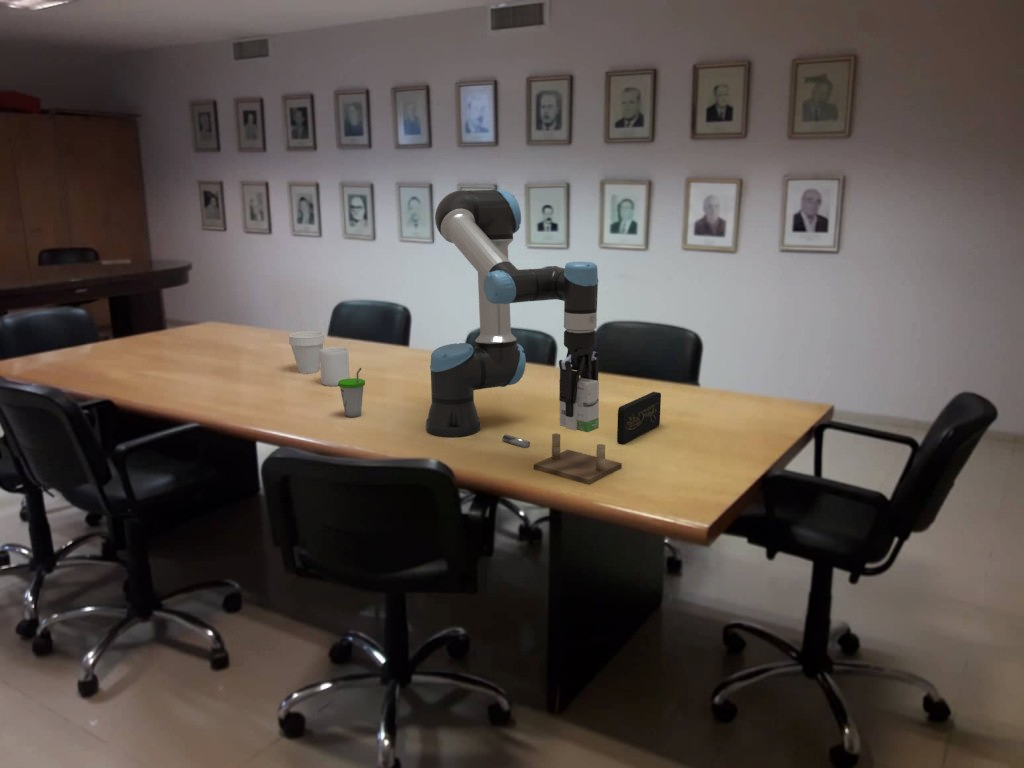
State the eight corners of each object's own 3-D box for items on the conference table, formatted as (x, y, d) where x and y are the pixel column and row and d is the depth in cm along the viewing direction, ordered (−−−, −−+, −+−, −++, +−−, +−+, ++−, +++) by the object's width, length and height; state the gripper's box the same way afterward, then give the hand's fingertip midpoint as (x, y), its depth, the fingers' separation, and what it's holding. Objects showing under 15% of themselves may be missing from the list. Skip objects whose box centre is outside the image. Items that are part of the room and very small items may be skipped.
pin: (506, 442, 216) (501, 440, 215) (508, 435, 217) (504, 433, 215) (528, 449, 211) (523, 447, 209) (531, 442, 211) (526, 439, 210)
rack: (533, 468, 195) (533, 440, 193) (567, 454, 205) (567, 426, 204) (588, 484, 185) (589, 454, 183) (621, 467, 196) (622, 439, 194)
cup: (337, 413, 241) (335, 364, 237) (364, 410, 244) (361, 362, 240) (342, 420, 234) (339, 369, 230) (369, 417, 237) (366, 367, 233)
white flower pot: (288, 369, 296) (285, 332, 292) (322, 366, 301) (320, 330, 297) (294, 376, 285) (292, 338, 282) (329, 373, 290) (327, 335, 287)
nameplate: (653, 425, 230) (655, 390, 227) (659, 426, 229) (661, 391, 226) (616, 444, 213) (618, 407, 211) (623, 445, 212) (624, 408, 210)
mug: (337, 388, 270) (335, 353, 267) (309, 383, 276) (307, 350, 273) (355, 381, 278) (353, 348, 275) (328, 378, 284) (326, 345, 281)
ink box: (599, 428, 191) (600, 380, 189) (586, 433, 188) (587, 383, 185) (571, 421, 197) (571, 374, 194) (558, 426, 194) (558, 377, 191)
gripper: (570, 337, 178) (569, 438, 183) (615, 326, 191) (612, 420, 197) (543, 333, 182) (542, 432, 188) (589, 322, 196) (587, 415, 202)
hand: (578, 426), depth 192 cm, fingers closed on ink box, 5 cm apart
